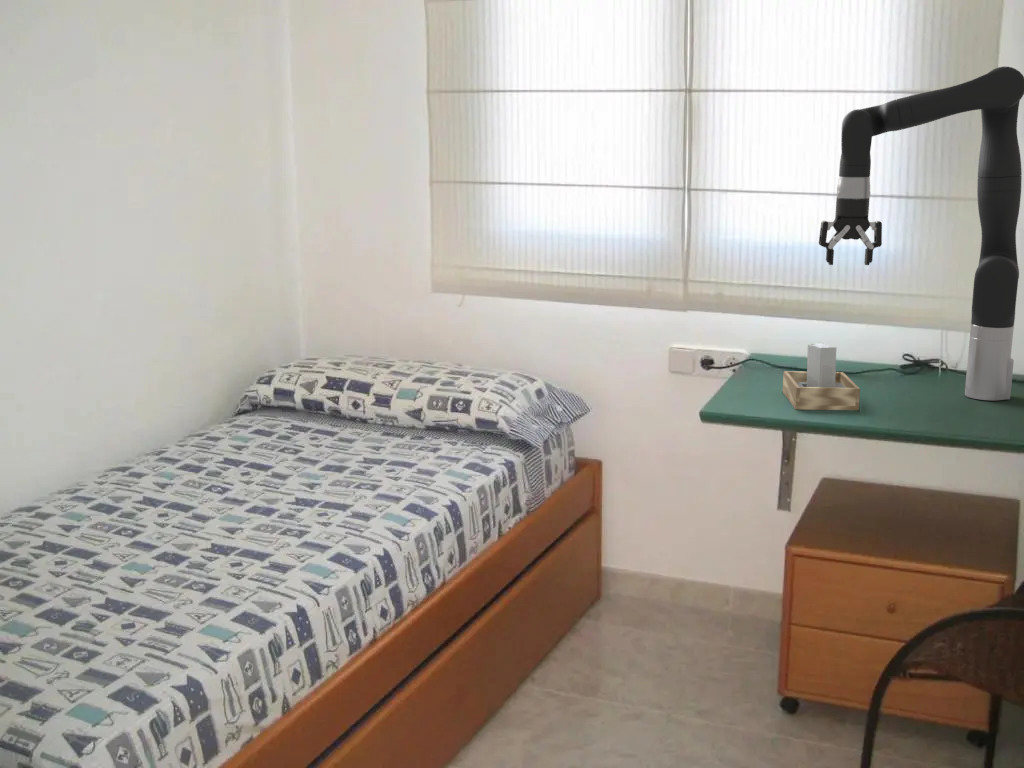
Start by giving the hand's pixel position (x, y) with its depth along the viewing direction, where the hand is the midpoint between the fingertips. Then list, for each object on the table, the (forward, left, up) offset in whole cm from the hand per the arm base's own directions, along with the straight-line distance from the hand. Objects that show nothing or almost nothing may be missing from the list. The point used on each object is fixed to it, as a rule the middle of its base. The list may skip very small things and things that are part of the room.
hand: (848, 264), depth 268 cm
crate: (+8, +15, -30) cm, 35 cm away
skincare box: (+8, +15, -29) cm, 34 cm away
